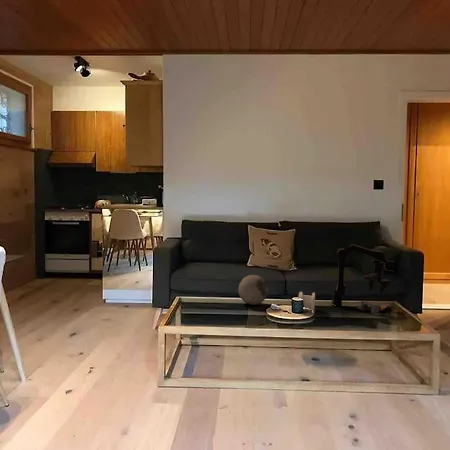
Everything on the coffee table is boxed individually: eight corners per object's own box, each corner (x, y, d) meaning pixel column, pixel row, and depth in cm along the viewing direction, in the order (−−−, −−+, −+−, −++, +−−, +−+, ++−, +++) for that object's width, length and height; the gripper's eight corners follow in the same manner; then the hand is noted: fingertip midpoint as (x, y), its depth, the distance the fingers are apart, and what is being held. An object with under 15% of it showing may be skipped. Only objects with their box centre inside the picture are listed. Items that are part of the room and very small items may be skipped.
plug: (375, 312, 354) (375, 306, 354) (370, 310, 358) (370, 305, 357) (389, 310, 361) (390, 304, 361) (385, 308, 365) (385, 303, 364)
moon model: (238, 307, 348) (240, 277, 346) (237, 299, 368) (238, 271, 366) (268, 308, 349) (270, 279, 346) (265, 301, 369) (267, 272, 366)
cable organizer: (313, 315, 339) (315, 297, 338) (297, 313, 341) (298, 295, 340) (314, 309, 354) (315, 292, 353) (298, 307, 356) (299, 290, 354)
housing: (357, 308, 361) (358, 300, 360) (361, 308, 363) (362, 299, 362) (377, 315, 346) (377, 306, 345) (381, 315, 348) (382, 306, 347)
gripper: (359, 267, 362) (357, 289, 364) (380, 273, 346) (377, 296, 348) (371, 266, 368) (369, 288, 370) (392, 272, 352) (389, 295, 354)
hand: (375, 292), depth 360 cm, fingers open, 9 cm apart
